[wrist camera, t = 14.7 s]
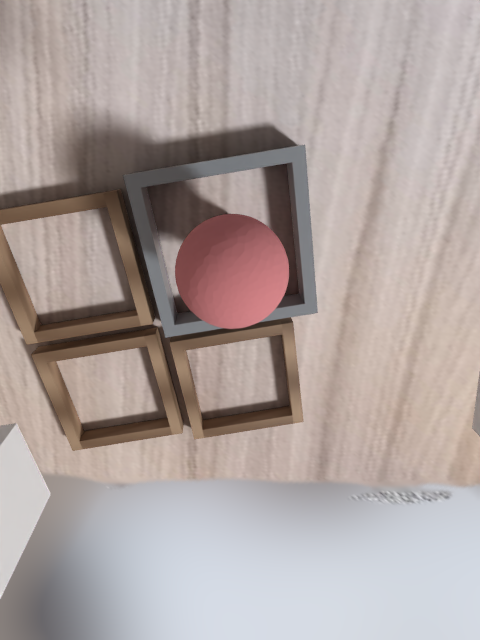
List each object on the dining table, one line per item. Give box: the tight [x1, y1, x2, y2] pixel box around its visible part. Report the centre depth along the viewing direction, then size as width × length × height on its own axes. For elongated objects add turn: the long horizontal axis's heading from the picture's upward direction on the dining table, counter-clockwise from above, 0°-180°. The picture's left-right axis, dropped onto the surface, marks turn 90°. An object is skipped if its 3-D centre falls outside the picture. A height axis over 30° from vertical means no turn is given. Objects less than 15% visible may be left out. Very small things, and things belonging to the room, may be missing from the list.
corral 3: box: [123, 145, 318, 338], centre depth 31 cm, size 13×13×2 cm
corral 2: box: [31, 327, 184, 451], centre depth 36 cm, size 11×11×2 cm
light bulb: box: [175, 214, 289, 329], centre depth 26 cm, size 7×7×12 cm
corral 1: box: [0, 189, 155, 345], centre depth 31 cm, size 11×11×2 cm
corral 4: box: [169, 317, 303, 439], centre depth 36 cm, size 11×11×2 cm
